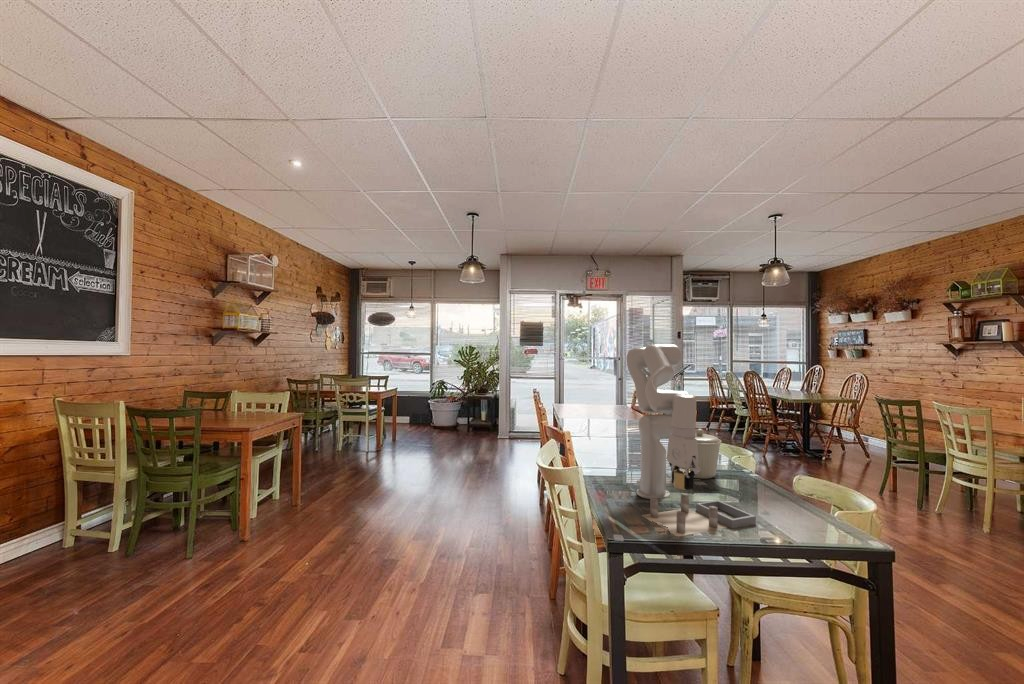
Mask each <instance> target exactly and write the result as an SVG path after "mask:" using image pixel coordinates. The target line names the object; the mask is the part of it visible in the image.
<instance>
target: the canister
mask: <svg viewBox="0 0 1024 684" xmlns="http://www.w3.org/2000/svg"><path fill="white" fill-rule="evenodd" d="M696 440H697V447H698V465H699V468H700V470H701V471H700V472H699V473H697V474H696V475H695V477H693V479H702V480H703V479H704V480H705V479H712V478H714V477H715V475H716V473H717V469H718V468H717V467H718V463H719V456H720V445H721V444H722V440H721V439H720V438H719V437H717V436H715V435H712V434H707V433H705V431H704V429H702V428H696ZM682 470H685V469H683V468H682ZM689 471H690V469H689ZM690 472H691V471H690Z"/></svg>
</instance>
